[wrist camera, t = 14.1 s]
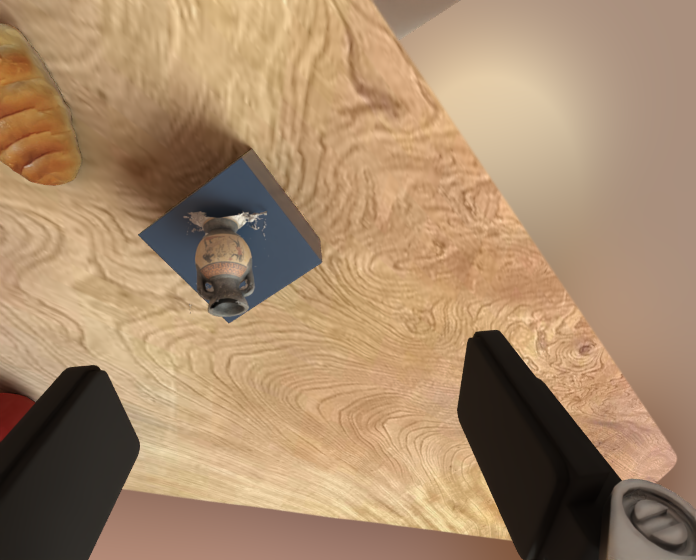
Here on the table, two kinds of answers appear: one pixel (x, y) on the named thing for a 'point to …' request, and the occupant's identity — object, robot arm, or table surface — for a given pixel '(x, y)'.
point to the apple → (12, 411)
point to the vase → (224, 263)
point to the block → (241, 229)
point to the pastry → (33, 116)
